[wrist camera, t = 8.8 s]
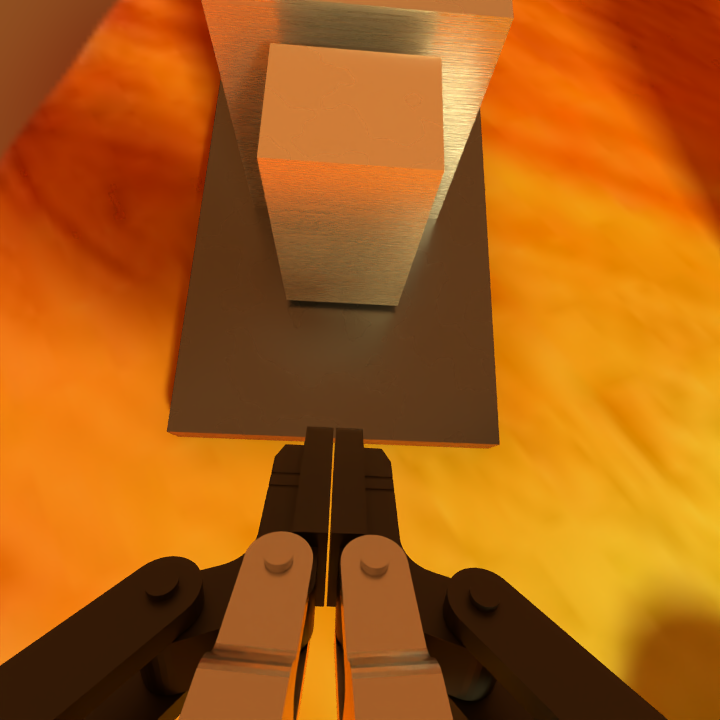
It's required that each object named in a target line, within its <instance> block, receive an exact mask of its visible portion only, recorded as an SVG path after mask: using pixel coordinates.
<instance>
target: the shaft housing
mask: <svg viewBox="0 0 720 720" xmlns="http://www.w3.org/2000/svg"><path fill="white" fill-rule="evenodd" d="M201 2H202V5H203V9H204V13H205V17H206V21H207V25H208V29H209V33H210V37H211V41H212V45H213V49H214V53H215V56H216V60H217V64H218V68H219V72H220V76H221V81H220V87H219V94H218V100H217V107H216V113H215V120H214V127H213V133H212V140H211V146H210V153H209V159H208V166H207V172H206V179H205V185H204V192H203V198H202V205H201V212H200V218H199V225H198V231H197V238H196V244H195V251H194V257H193V264H192V270H191V277H190V283H189V290H188V296H187V303H186V310H185V316H184V323H183V329H182V336H181V342H180V349H179V355H178V362H177V368H176V375H175V381H174V388H173V394H172V401H171V408H170V414H169V421H168V427H167V432H169V433H171V434H173V435H176V436H178V437H203V438H229V439H255V440H281V441H305V436H306V429H307V426H311V427H332V428H334V431H333V443H335V437H336V428H354V429H363V444H385V445H411V446H437V447H464V448H491V447H494V446H497V445H499V428H498V410H497V393H496V376H495V358H494V341H493V324H492V307H491V289H490V272H489V255H488V238H487V220H486V203H485V186H484V169H483V151H482V134H481V117H480V105H481V102H482V100H483V97H484V94H485V92H486V89H487V87H488V84H489V81H490V79H491V76H492V73H493V71H494V68H495V66H496V63H497V60H498V58H499V55H500V52H501V50H502V47H503V45H504V42H505V39H506V37H507V34H508V31H509V29H510V26H511V24H512V21H513V18H514V17H513V6H512V0H201ZM270 43H277V44H289V45H301V46H313V47H325V48H337V49H349V50H361V51H373V52H386V53H398V54H410V55H422V56H434V57H441V60H442V96H443V131H444V166H445V171H444V174H443V177H442V180H441V182H440V185H439V188H438V191H437V194H436V197H435V200H434V202H433V205H432V208H431V211H430V214H429V217H428V220H427V223H426V225H425V228H424V231H423V234H422V237H421V240H420V243H419V246H418V248H417V251H416V254H415V257H414V260H413V263H412V266H411V269H410V271H409V274H408V277H407V280H406V283H405V286H404V289H403V291H402V294H401V297H400V300H399V303H398V306H390V305H372V304H353V303H335V302H316V301H298V300H287V299H286V294H285V289H284V285H283V280H282V275H281V270H280V266H279V261H278V256H277V251H276V246H275V242H274V237H273V232H272V227H271V223H270V218H269V213H268V208H267V203H266V199H265V194H264V189H263V184H262V180H261V175H260V170H259V165H258V160H257V152H258V144H259V135H260V126H261V118H262V109H263V100H264V92H265V83H266V75H267V66H268V57H269V49H270Z"/></svg>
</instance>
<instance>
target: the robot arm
mask: <svg viewBox="0 0 720 720" xmlns="http://www.w3.org/2000/svg"><path fill="white" fill-rule="evenodd" d="M333 431H334V428H332V427H311V426H307V429H306V436H305V443H304V445H287V444H286V445H285V446H284V447H283V448H282V449H281V451H280V452H279V453H278V454H277V455H276V456H275V459H274V464H273V468H272V474H271V477H270V482H269V487H268V491H267V495H266V500H265V504H264V509H263V513H262V518H261V522H260V527H259V532H258V535H257V538H256V540H255V541H254V542H253V543H252V544H251V545H250V546H249V548H248V549H247V551H246V553H245V554H243V555H242V556H241V557H239V558H238V559H236V560H234V561H232V562H229V563H227V564H223V565H220V566H216V567H212V568H208V569H204V570H199V568H198V566H197V565H196V564H195V563H194V562H192V561H191V560H189V559H186V558H183V557H176V556H171V557H164V558H160V559H157V560H154V561H152V562H149V563H147V564H146V565H144V566H143V567H141V568H140V569H138V570H137V571H135V572H134V573H132V574H131V575H130V576H128V577H127V578H125V579H124V580H122V581H121V582H120V583H118V584H117V585H115V586H114V587H112V588H111V589H110V590H108V591H107V592H105V593H104V594H102V595H101V596H99V597H98V598H97V599H95V600H94V601H92V602H91V603H89V604H88V605H87V606H85V607H84V608H82V609H81V610H79V611H78V612H77V613H75V614H74V615H72V616H71V617H69V618H68V619H67V620H65V621H64V622H62V623H61V624H59V625H58V626H56V627H55V628H54V629H52V630H51V631H49V632H48V633H46V634H45V635H44V636H42V637H41V638H39V639H38V640H36V641H35V642H34V643H32V644H31V645H29V646H28V647H26V648H25V649H24V650H22V651H21V652H19V653H18V654H16V655H15V656H13V657H12V658H11V659H9V660H8V661H6V662H5V663H3V664H2V665H1V666H0V720H175V719H176V718H177V717H178V716H179V715H180V717H179V720H298V717H299V711H300V704H301V698H302V691H303V684H304V678H305V671H306V665H307V658H308V652H309V645H310V638H311V635H312V633H313V627H314V613H315V606H323V607H324V595H325V578H326V561H327V544H328V526H329V507H330V488H331V469H332V450H333ZM392 478H393V477H392V468H391V462H390V460H389V459H388V457H387V456H386V455H385V453H384V452H383V450H382V449H376V448H364V445H363V429H354V428H336V437H335V453H334V470H333V488H332V508H331V529H330V550H329V571H328V592H327V606H330V607H336V620H335V637H334V654H335V677H336V699H337V720H667V719H666V718H665V717H664V716H663V715H662V714H660V713H659V712H658V711H657V710H656V709H655V708H653V707H652V706H651V705H650V704H649V703H648V702H646V701H645V700H644V699H643V698H642V697H641V696H639V695H638V694H637V693H636V692H635V691H634V690H632V689H631V688H630V687H629V686H628V685H627V684H625V683H624V682H623V681H622V680H621V679H620V678H618V677H617V676H616V675H615V674H614V673H613V672H611V671H610V670H609V669H608V668H607V667H606V666H604V665H603V664H602V663H601V662H600V661H599V660H597V659H596V658H595V657H594V656H593V655H592V654H590V653H589V652H588V651H587V650H586V649H585V648H583V647H582V646H581V645H580V644H579V643H578V642H576V641H575V640H574V639H573V638H572V637H571V636H569V635H568V634H567V633H566V632H565V631H564V630H562V629H561V628H560V627H559V626H558V625H557V624H555V623H554V622H553V621H552V620H551V619H550V618H548V617H547V616H546V615H545V614H544V613H543V612H541V611H540V610H539V609H538V608H537V607H536V606H534V605H533V604H532V603H531V602H530V601H529V600H527V599H526V598H525V597H524V596H523V595H522V594H520V593H519V592H518V591H517V590H516V589H515V588H513V587H512V586H511V585H510V584H509V583H508V582H506V581H505V580H504V579H503V578H501V577H500V576H498V575H497V574H495V573H493V572H491V571H488V570H485V569H481V568H467V569H463V570H461V571H459V572H457V573H456V574H455V575H454V576H453V577H452V578H449V577H446V576H443V575H440V574H437V573H434V572H431V571H428V570H426V569H424V568H422V567H420V566H419V565H417V564H416V563H415V562H413V561H412V560H411V559H410V558H409V557H408V555H407V554H406V553H405V551H404V550H403V548H402V545H401V542H400V536H399V528H398V519H397V511H396V502H395V494H394V485H393V480H392Z"/></svg>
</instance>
